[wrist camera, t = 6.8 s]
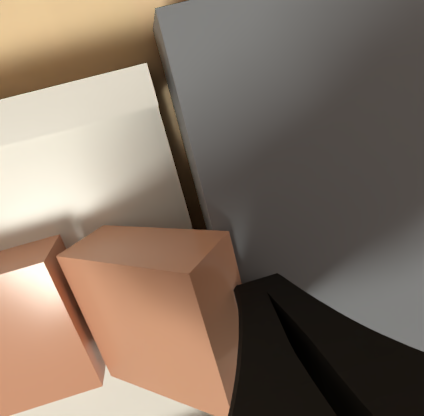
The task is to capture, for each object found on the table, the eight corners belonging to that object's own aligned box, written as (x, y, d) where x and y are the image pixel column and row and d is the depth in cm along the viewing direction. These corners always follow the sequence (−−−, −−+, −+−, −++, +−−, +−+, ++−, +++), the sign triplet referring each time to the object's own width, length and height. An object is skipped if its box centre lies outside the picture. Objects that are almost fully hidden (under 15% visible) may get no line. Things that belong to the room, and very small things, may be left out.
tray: (146, 67, 11) (146, 62, 8) (244, 411, 17) (265, 480, 14) (-250, 167, 10) (-409, 202, 7) (-3, 494, 16) (-37, 586, 13)
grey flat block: (498, -55, 12) (630, -106, 9) (476, 318, 18) (550, 371, 14) (152, 30, 11) (155, 8, 8) (250, 393, 17) (275, 468, 14)
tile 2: (-136, 313, 10) (-91, 276, 12) (-47, 433, 12) (-20, 385, 13) (43, 262, 10) (59, 234, 12) (102, 386, 12) (108, 345, 14)
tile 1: (228, 231, 9) (188, 273, 8) (261, 367, 11) (234, 423, 10) (103, 225, 12) (55, 256, 11) (146, 336, 14) (111, 376, 12)
